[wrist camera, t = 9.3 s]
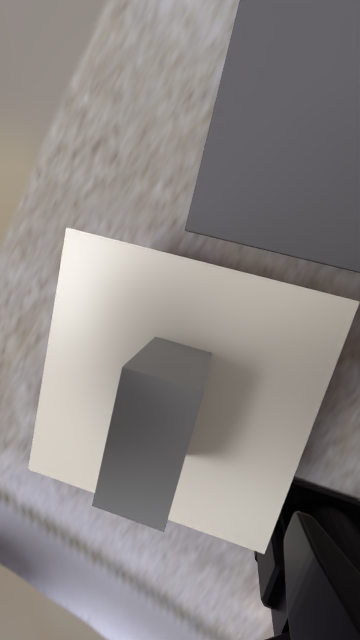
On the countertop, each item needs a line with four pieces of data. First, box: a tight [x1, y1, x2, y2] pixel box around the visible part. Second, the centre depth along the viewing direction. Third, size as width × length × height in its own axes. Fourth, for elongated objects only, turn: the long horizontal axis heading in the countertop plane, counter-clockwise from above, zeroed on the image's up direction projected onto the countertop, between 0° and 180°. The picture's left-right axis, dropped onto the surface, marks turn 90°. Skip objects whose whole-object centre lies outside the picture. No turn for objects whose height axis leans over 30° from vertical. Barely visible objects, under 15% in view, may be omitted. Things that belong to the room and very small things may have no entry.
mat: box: [185, 0, 360, 273], centre depth 15 cm, size 13×13×1 cm
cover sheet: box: [28, 228, 360, 554], centre depth 12 cm, size 12×12×5 cm
